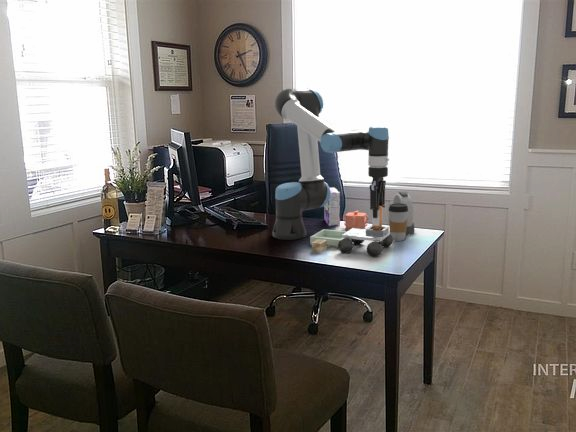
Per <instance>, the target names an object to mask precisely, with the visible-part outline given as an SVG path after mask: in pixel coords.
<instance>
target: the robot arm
mask: <svg viewBox="0 0 576 432" xmlns="http://www.w3.org/2000/svg"><path fill="white" fill-rule="evenodd" d="M274 109H275V111H276V113H277V114H278V116H280V118H282V119H284V120H285V121H290V122H292V123H293V124H295V125H296V127H297V128H296V129H297V139H298V148H299V149H298V151H299V160H300V173H301V177H300V178H299V180H298V182H297V181H291V182H285V183H282V184H279V185H278V186H276V188H275V192H274V193H275V195H274V198H275V222H274V225H273V228H272V237H273V238H275V239H277V240H285V241H288V240H289V241H292V240H299V239H303V238H305V237H307V229H306V226H305V224H304V220H303V212H304V211H308V210H314V209H319V208H324V206H325V205H326V204H327V203H328V202H329V199H330V195H331V192H330V188H331V187H330V186H329V184H328V183H327V182H325V178H324V177H323V176H322V175H321V166H320V154H319V145H318V143H320V147H321V148H322V151H323V152H325V153H328V154H329V153H330V154H331V153H332V154H335V153H341V152H351V151H358V150H359V151H362V150H363V151H368V159H367V160H368V161H367V163H368V164H367V165H368V171H367V172H368V174H367V175H368V176H369V177H370V178H372V181H371V184H370V185H369V194H370V196H369V198H370V199H369V203H370V204H369V206H370V207H369V209H370V210H371V211H372V213H371V219H372V221H371V225H372V226H379V212H380V210H378V209H379V205H380V206H382V220H383V216H384V215H383V211H384V210H383V209H384V208H385V207H386V205H385V204H386V201H385V200H386V199H385V198H386V183H387V181H386V180H384V178H386V177H388V176H389V170H388V169H389V167H388V165H389V161H390V158H389V139H390V137H389V128H388V127H387V126H384V125H383V126H380V125H379V126H377V125H376V126H375V125H374V126H369V127H368V130H359V129H353V130H352V129H351V130H349V131H338V130H337V129H335V128H333V127H332V126H331V125H329V124H328V123H326V122H325V121H323V119H321V118H320V115H319V114H321V113H322V111H323V109H324V98H323V97H322V95H321V93H320V92H319V91H318V90H317V89H315V88H309V87H307V88H286V89H282V90H281V91H279V93H278V94H277V95H276V97H275V99H274Z"/></svg>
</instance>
